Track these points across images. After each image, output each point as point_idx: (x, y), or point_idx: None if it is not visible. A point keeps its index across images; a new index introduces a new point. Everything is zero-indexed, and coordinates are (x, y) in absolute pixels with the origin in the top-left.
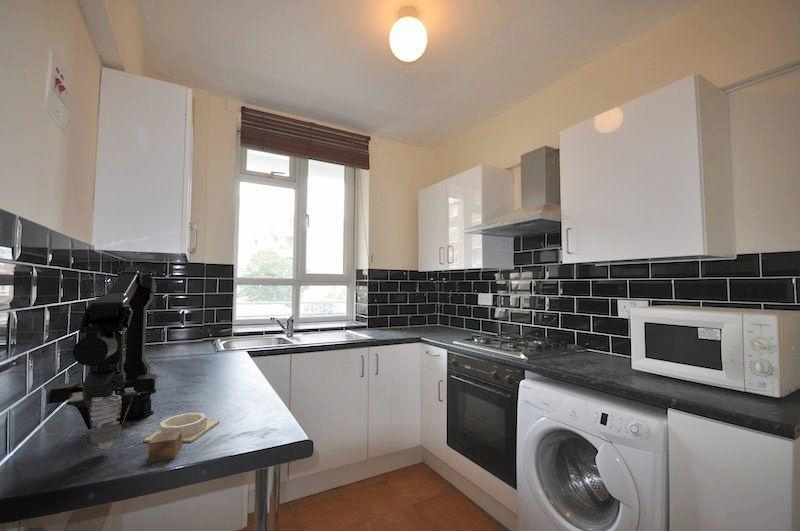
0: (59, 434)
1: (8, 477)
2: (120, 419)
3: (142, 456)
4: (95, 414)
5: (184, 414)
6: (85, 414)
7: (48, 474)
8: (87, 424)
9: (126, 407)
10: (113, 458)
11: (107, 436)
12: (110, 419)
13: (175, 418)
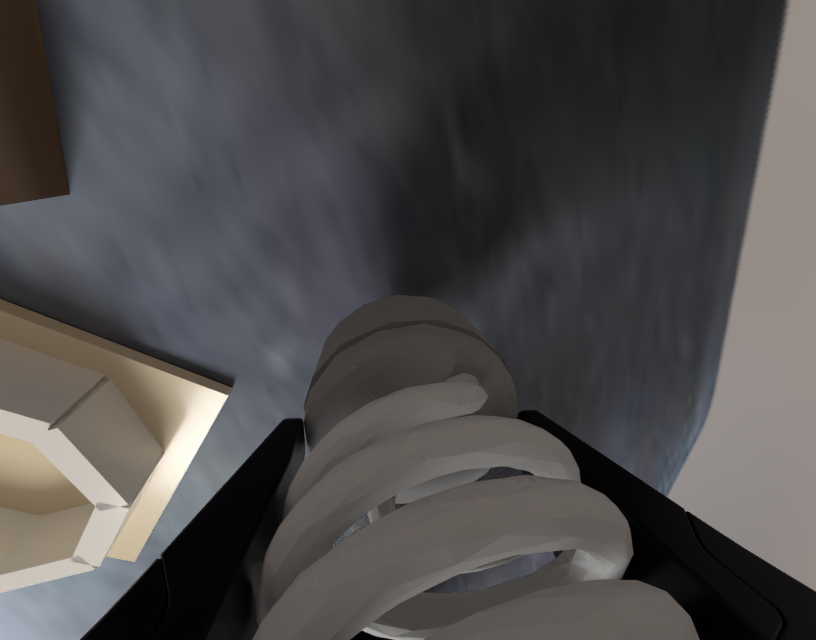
0: None
1: (735, 251)
2: (285, 453)
3: (141, 144)
4: (581, 485)
5: (9, 579)
6: (677, 531)
7: (613, 179)
8: (566, 436)
9: (129, 614)
10: (333, 223)
11: (381, 312)
12: (367, 416)
13: (67, 549)
